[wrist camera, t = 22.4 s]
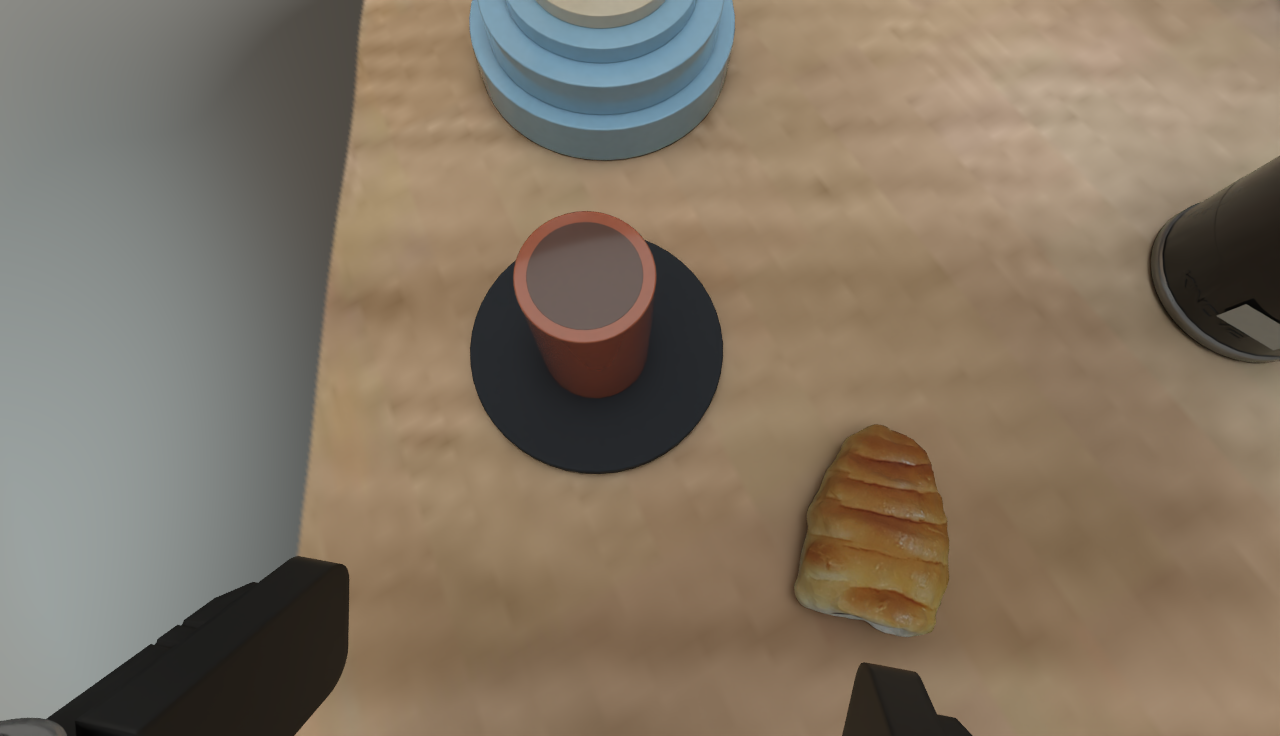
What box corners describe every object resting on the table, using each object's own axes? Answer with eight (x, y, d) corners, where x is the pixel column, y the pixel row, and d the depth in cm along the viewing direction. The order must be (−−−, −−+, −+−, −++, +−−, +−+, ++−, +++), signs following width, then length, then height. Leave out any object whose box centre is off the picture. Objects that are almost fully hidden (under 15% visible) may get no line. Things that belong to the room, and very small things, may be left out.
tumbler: (613, 280, 33) (609, 187, 25) (668, 363, 32) (683, 296, 24) (524, 330, 33) (487, 252, 24) (577, 418, 31) (558, 369, 23)
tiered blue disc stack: (644, -78, 41) (647, -196, 35) (776, 88, 38) (807, -7, 31) (436, 17, 39) (398, -90, 32) (558, 204, 35) (543, 127, 29)
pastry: (813, 418, 32) (838, 402, 29) (943, 448, 32) (985, 435, 29) (784, 608, 30) (807, 617, 26) (925, 642, 30) (968, 656, 26)
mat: (637, 198, 36) (638, 190, 35) (769, 389, 33) (772, 385, 32) (430, 311, 34) (425, 305, 33) (551, 524, 31) (549, 524, 30)
